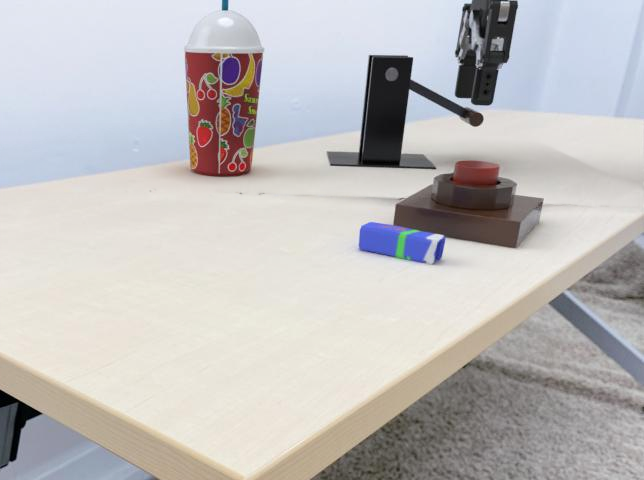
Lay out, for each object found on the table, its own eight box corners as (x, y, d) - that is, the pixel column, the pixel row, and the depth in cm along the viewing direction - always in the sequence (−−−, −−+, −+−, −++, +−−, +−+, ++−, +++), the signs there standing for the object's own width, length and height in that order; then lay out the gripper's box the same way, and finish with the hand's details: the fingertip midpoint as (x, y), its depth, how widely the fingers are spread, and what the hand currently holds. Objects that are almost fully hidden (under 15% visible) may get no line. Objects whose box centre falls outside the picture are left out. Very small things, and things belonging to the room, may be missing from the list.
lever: (465, 126, 86) (477, 107, 85) (476, 132, 81) (488, 112, 80) (369, 75, 85) (380, 56, 84) (374, 78, 80) (386, 58, 79)
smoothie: (263, 187, 76) (273, -22, 68) (185, 187, 75) (186, -23, 67) (252, 172, 83) (260, -17, 75) (181, 172, 83) (182, -19, 75)
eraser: (432, 266, 52) (437, 239, 51) (357, 250, 55) (359, 225, 54) (442, 260, 53) (446, 233, 52) (368, 245, 56) (371, 220, 56)
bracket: (421, 163, 90) (437, 55, 84) (434, 177, 81) (452, 58, 76) (326, 160, 91) (335, 53, 86) (329, 174, 83) (339, 57, 78)
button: (500, 183, 61) (504, 163, 60) (491, 191, 58) (494, 169, 58) (458, 178, 63) (461, 158, 62) (446, 185, 60) (450, 164, 59)
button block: (538, 222, 63) (548, 177, 62) (515, 249, 56) (525, 198, 54) (427, 206, 68) (433, 165, 67) (392, 229, 61) (398, 182, 59)
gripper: (559, -66, 68) (524, 109, 75) (516, -52, 81) (489, 96, 88) (478, -67, 69) (451, 107, 76) (449, -53, 82) (427, 94, 89)
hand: (472, 101), depth 82 cm, fingers open, 8 cm apart
